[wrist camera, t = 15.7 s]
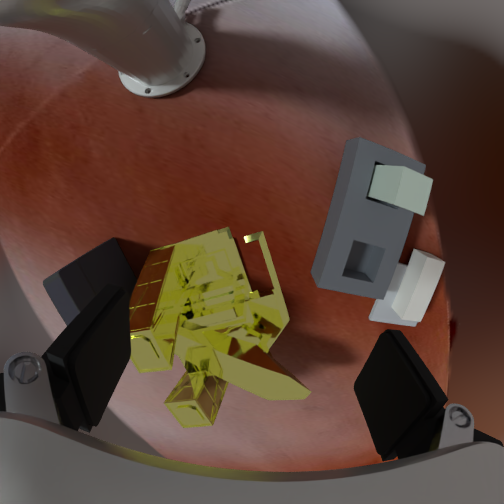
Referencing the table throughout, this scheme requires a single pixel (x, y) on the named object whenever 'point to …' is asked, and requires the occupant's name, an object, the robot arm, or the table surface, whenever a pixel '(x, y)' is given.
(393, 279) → the mat
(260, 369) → the crystal
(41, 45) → the table surface
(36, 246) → the table surface
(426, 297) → the white plug
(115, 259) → the black block
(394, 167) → the sage plug
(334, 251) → the plate
